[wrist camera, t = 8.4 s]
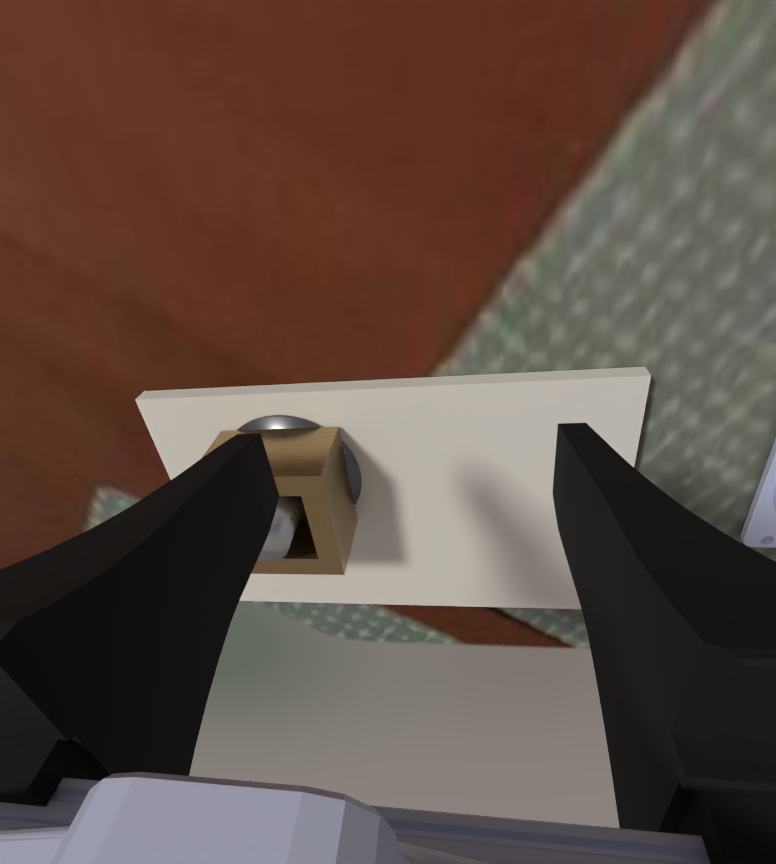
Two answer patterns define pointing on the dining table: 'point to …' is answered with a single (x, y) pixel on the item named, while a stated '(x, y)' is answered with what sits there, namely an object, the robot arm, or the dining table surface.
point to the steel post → (293, 506)
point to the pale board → (430, 476)
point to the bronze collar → (310, 497)
